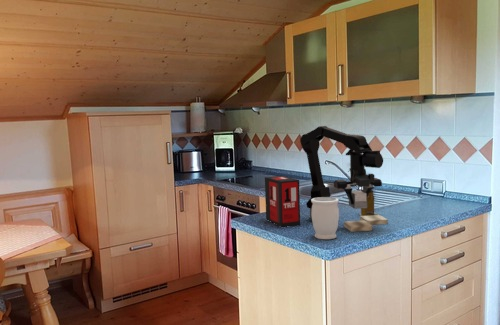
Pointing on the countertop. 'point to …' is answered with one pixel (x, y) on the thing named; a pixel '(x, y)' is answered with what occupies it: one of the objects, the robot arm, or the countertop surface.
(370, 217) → the stand
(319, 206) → the jar
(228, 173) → the countertop surface
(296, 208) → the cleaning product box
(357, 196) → the block
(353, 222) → the stand
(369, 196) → the condiment
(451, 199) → the countertop surface
